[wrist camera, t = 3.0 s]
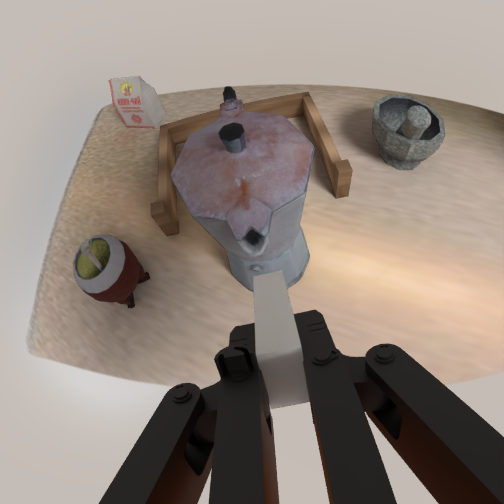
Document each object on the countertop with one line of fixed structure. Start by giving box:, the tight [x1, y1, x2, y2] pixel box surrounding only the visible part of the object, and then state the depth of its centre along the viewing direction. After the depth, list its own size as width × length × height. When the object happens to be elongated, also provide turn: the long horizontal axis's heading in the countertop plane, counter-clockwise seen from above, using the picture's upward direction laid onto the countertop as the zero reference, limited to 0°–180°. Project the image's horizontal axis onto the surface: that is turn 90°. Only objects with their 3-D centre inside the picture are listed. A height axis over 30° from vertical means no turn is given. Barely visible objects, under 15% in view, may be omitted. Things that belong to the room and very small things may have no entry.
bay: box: [151, 92, 352, 236], centre depth 39 cm, size 17×23×5 cm
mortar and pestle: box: [372, 95, 445, 170], centre depth 33 cm, size 11×9×12 cm
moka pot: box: [171, 86, 315, 292], centre depth 26 cm, size 10×15×20 cm, turn 12°
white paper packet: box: [109, 76, 166, 128], centre depth 46 cm, size 4×7×10 cm, turn 70°
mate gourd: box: [73, 235, 150, 308], centre depth 30 cm, size 8×8×15 cm
